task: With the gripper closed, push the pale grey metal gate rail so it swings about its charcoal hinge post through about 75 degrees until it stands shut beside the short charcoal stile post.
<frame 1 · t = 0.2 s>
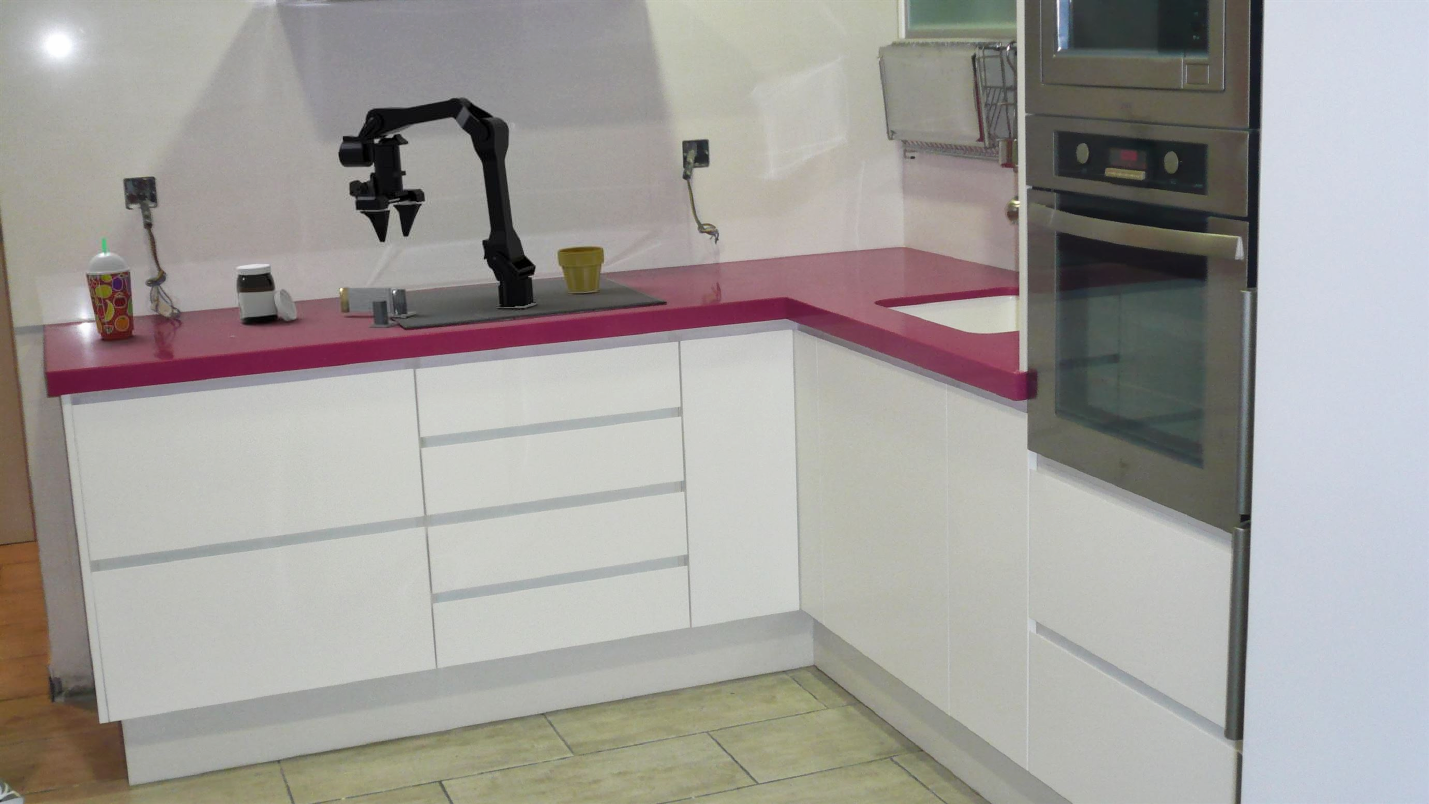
hand: (394, 239, 308), 14 cm above the worktop, fingers open, 9 cm apart
hinge post: (401, 315, 296), on the worktop
plant pot: (583, 293, 318), on the worktop
stile post: (381, 325, 286), on the worktop
spread jar: (269, 321, 297), on the worktop
smoothie: (117, 338, 285), on the worktop
gate: (365, 299, 297), point 3 cm above the worktop, hinge at 12.0°
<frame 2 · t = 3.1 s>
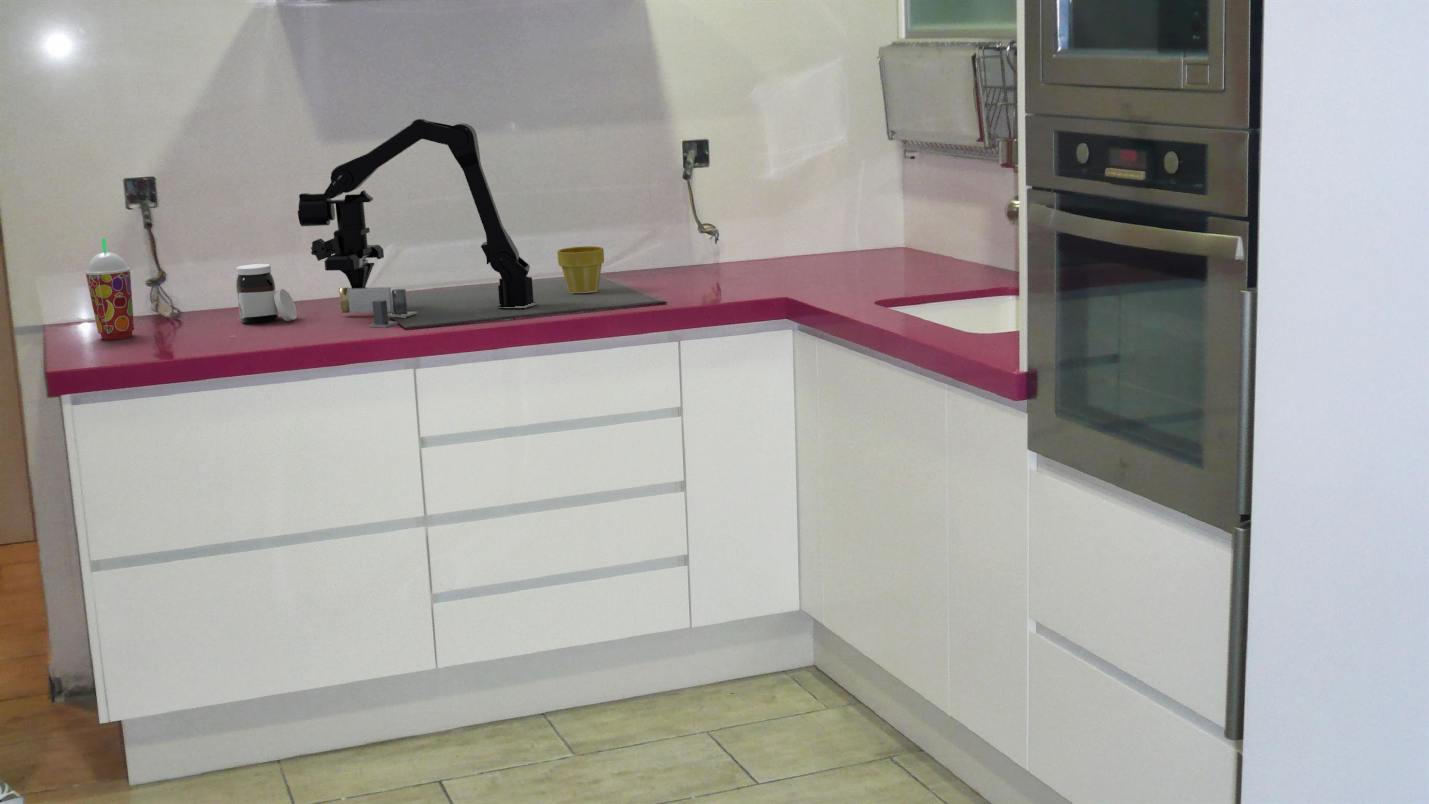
hand: (358, 298, 299), 4 cm above the worktop, fingers closed
gate: (365, 299, 297), point 3 cm above the worktop, hinge at 12.2°, touching gripper
everything else where it was.
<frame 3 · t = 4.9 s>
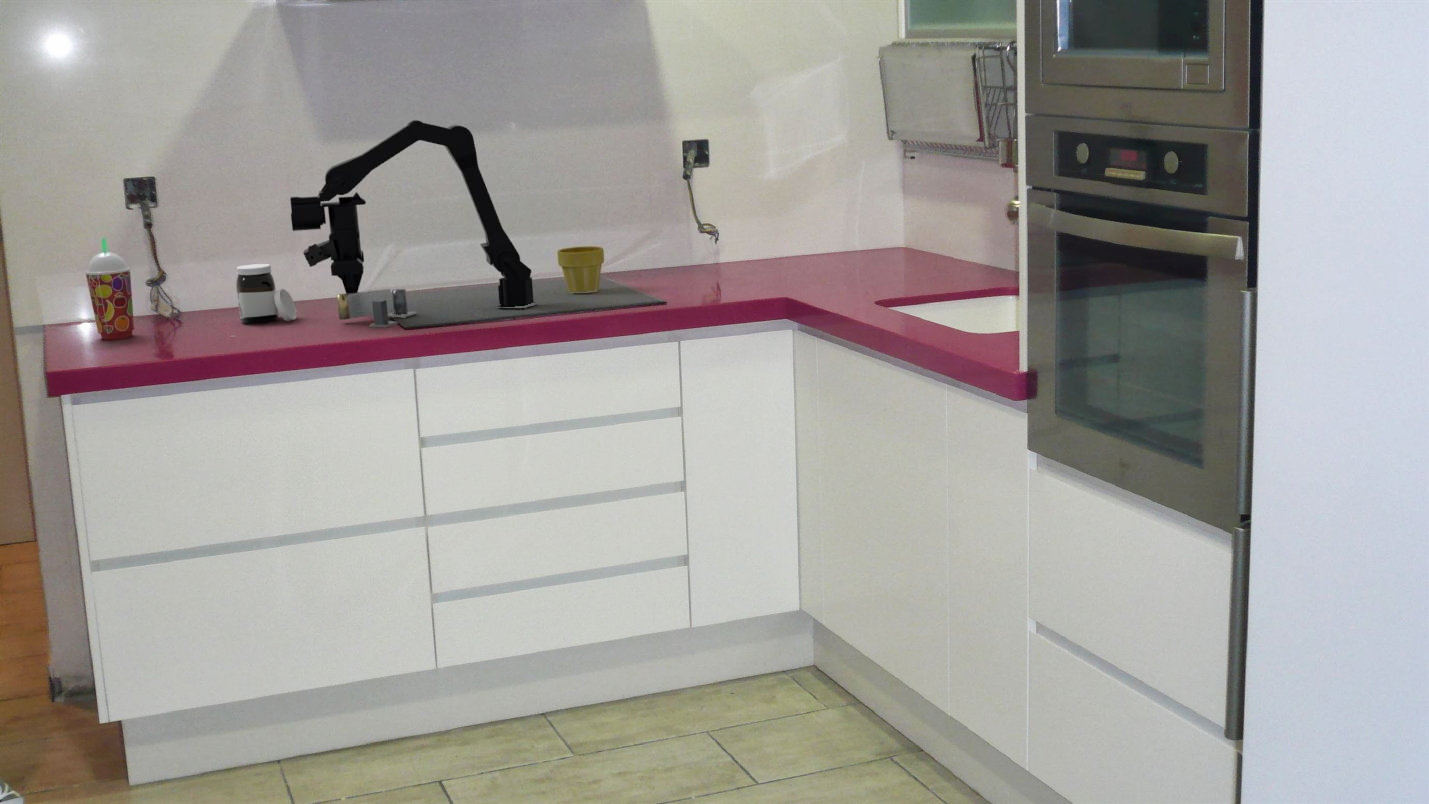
hand: (351, 302, 292), 4 cm above the worktop, fingers closed
gate: (364, 303, 292), point 3 cm above the worktop, hinge at 54.7°, touching gripper
everything else where it was.
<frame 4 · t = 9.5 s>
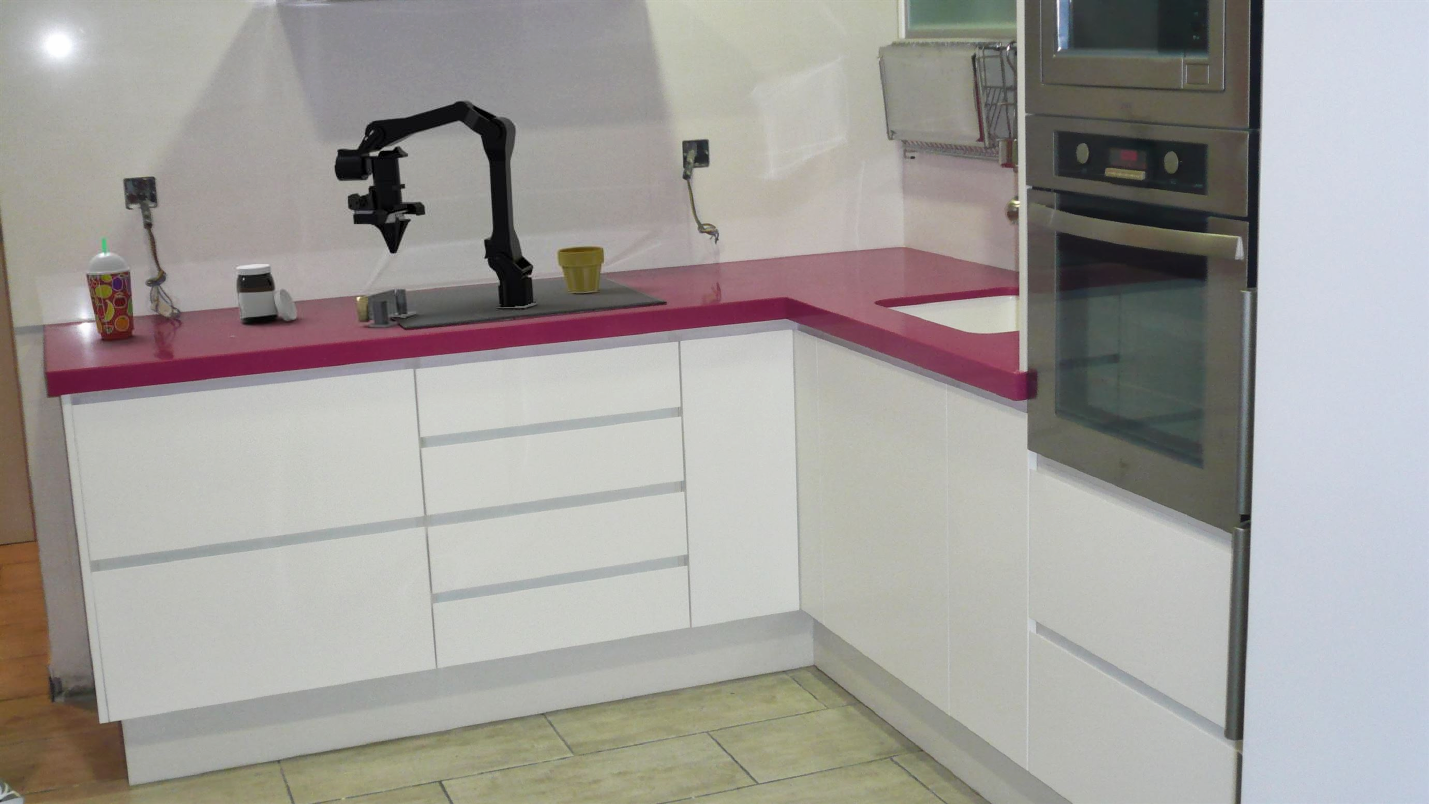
hand: (393, 253, 303), 12 cm above the worktop, fingers closed
gate: (376, 305, 289), point 3 cm above the worktop, hinge at 87.0°
everything else where it was.
at the end: gate at +87° (first picture: +12°) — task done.
